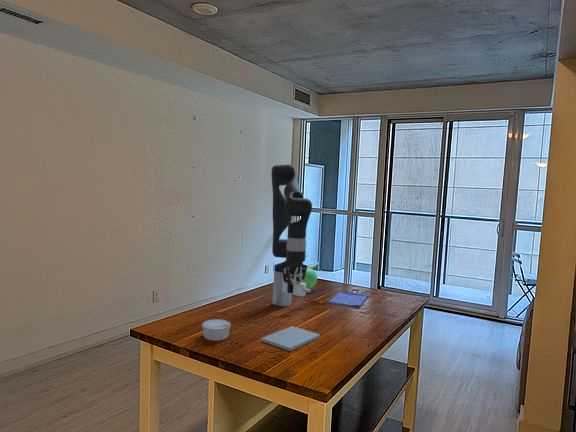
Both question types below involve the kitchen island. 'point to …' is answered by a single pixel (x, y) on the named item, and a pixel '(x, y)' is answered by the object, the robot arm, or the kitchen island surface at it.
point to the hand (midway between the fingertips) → (293, 291)
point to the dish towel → (349, 299)
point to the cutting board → (290, 338)
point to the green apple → (310, 277)
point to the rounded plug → (296, 288)
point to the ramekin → (216, 329)
